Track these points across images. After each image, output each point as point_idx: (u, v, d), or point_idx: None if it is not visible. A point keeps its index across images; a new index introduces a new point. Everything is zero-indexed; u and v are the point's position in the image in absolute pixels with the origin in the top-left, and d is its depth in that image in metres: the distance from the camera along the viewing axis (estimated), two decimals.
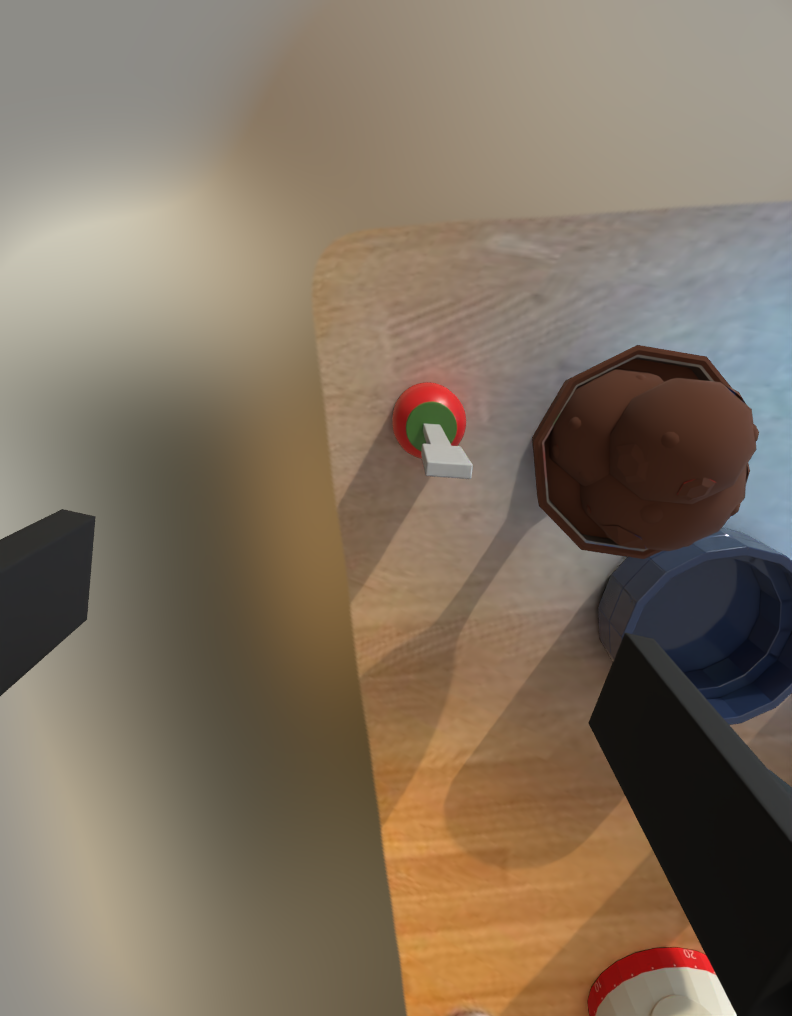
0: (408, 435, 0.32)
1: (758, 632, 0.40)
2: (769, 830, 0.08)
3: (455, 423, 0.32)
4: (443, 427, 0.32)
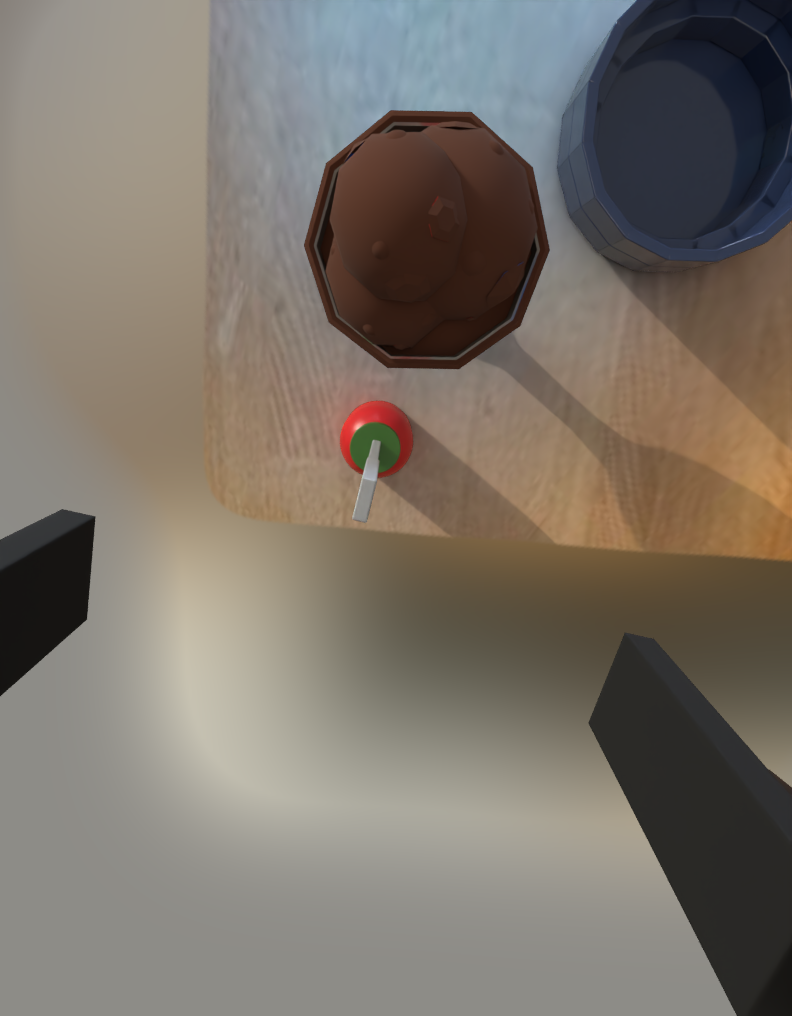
0: (378, 472, 0.32)
1: (733, 44, 0.29)
2: (769, 830, 0.08)
3: (374, 424, 0.31)
4: (376, 436, 0.32)
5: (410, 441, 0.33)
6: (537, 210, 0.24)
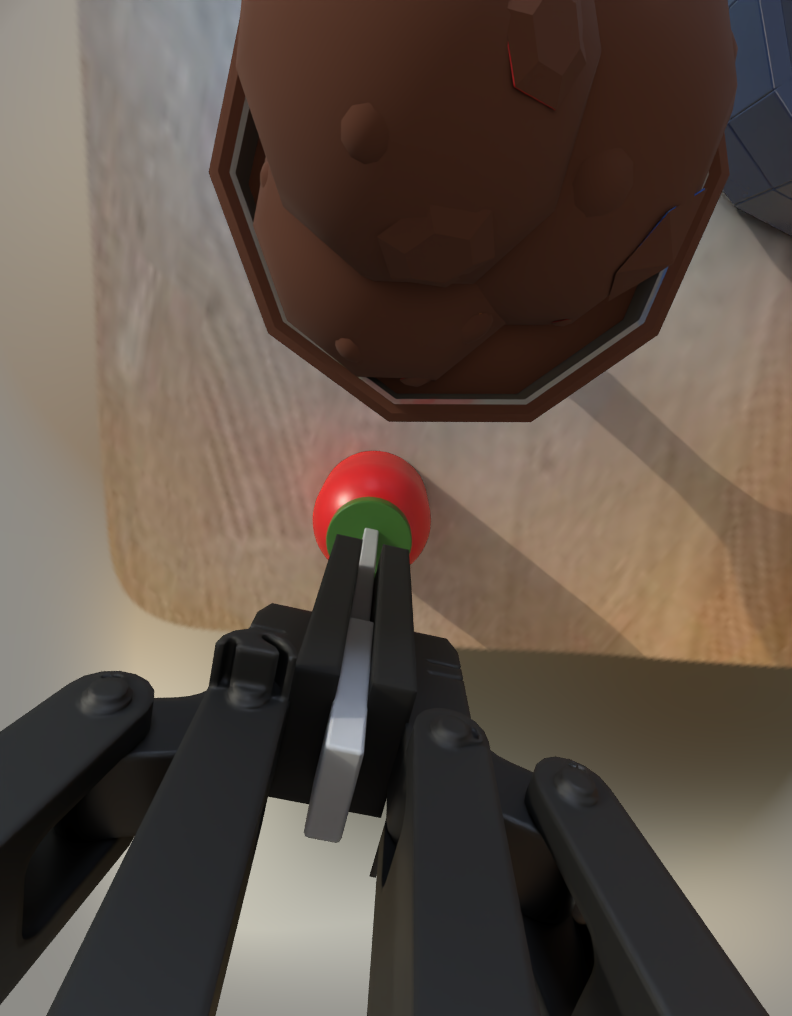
0: None
1: None
2: (372, 657, 0.10)
3: (366, 503, 0.18)
4: (370, 523, 0.19)
5: (427, 522, 0.20)
6: None
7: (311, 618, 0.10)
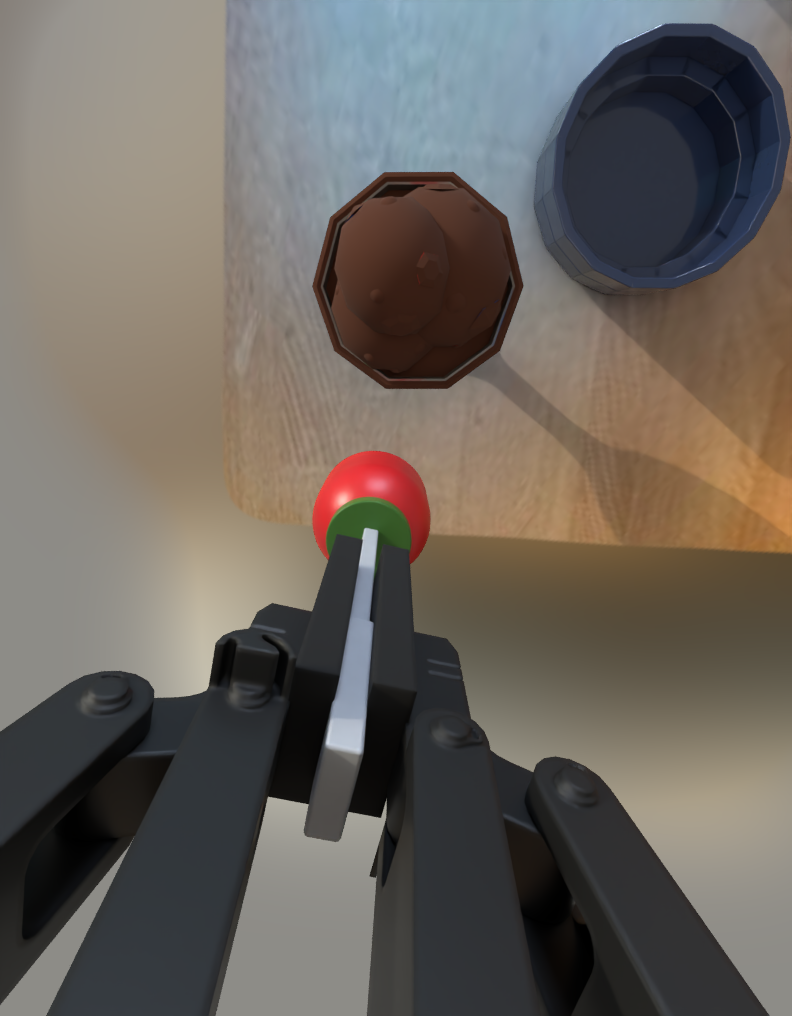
0: None
1: (686, 96, 0.33)
2: (372, 658, 0.10)
3: (366, 503, 0.18)
4: (370, 523, 0.19)
5: (426, 522, 0.20)
6: (511, 253, 0.28)
7: (311, 618, 0.10)
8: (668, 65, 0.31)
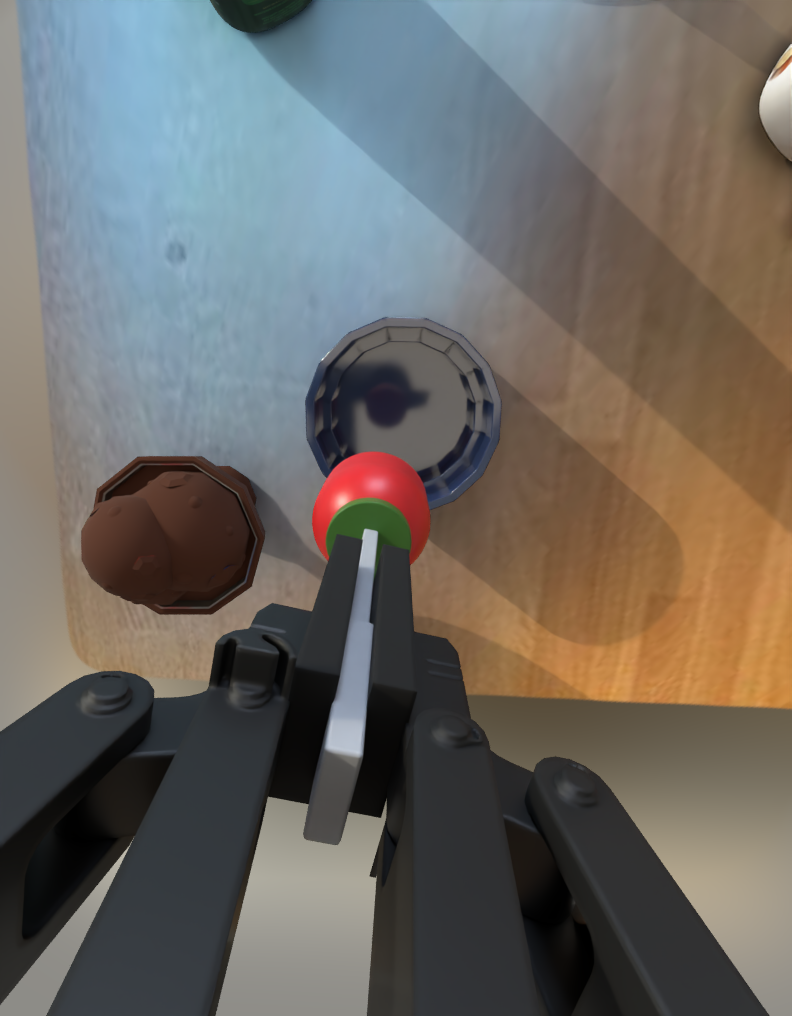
0: None
1: (432, 348, 0.39)
2: (372, 658, 0.10)
3: (366, 504, 0.18)
4: (370, 524, 0.19)
5: (426, 523, 0.20)
6: (250, 516, 0.34)
7: (311, 618, 0.10)
8: (405, 334, 0.37)
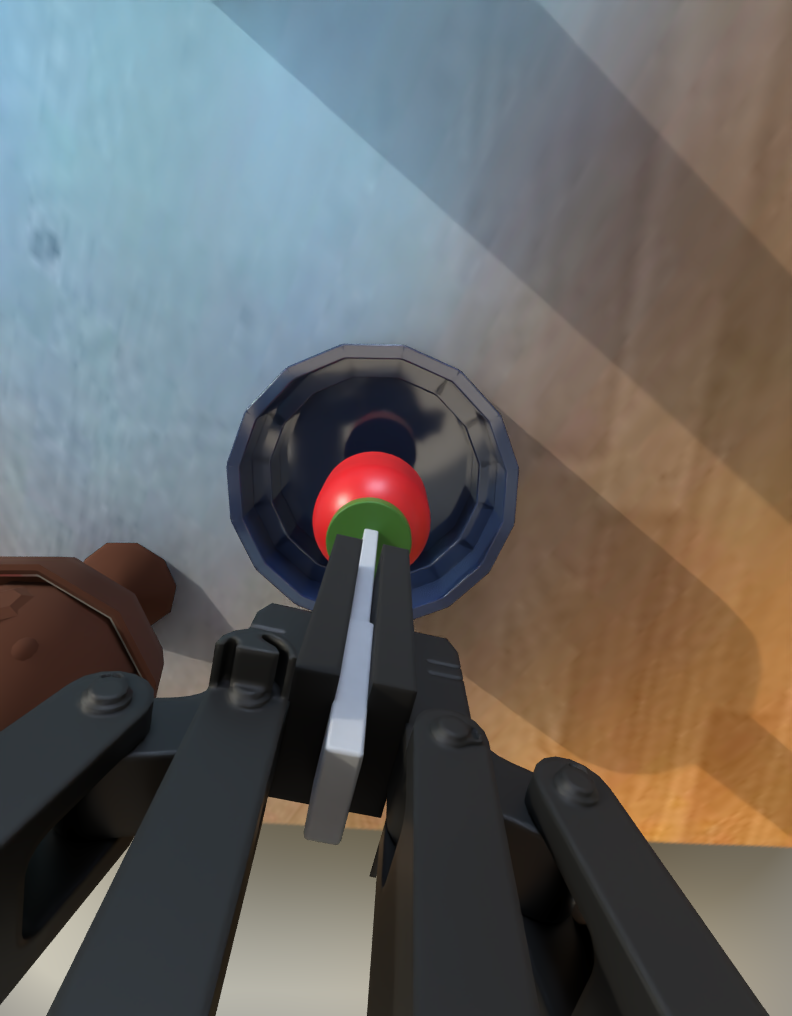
0: None
1: None
2: (372, 658, 0.10)
3: (366, 504, 0.18)
4: (370, 524, 0.19)
5: (427, 523, 0.20)
6: (132, 651, 0.22)
7: (311, 618, 0.10)
8: (376, 366, 0.25)
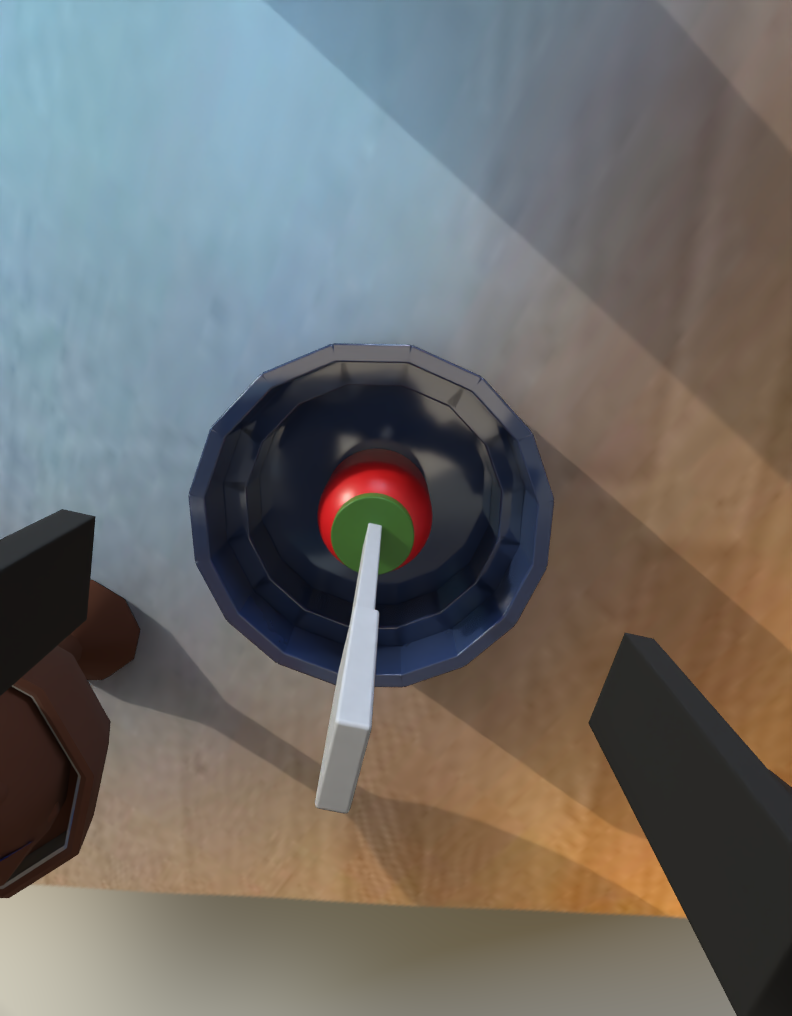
0: (378, 573, 0.20)
1: None
2: (769, 830, 0.08)
3: (370, 499, 0.19)
4: (374, 518, 0.19)
5: (429, 518, 0.21)
6: (61, 738, 0.17)
7: None
8: (376, 371, 0.20)
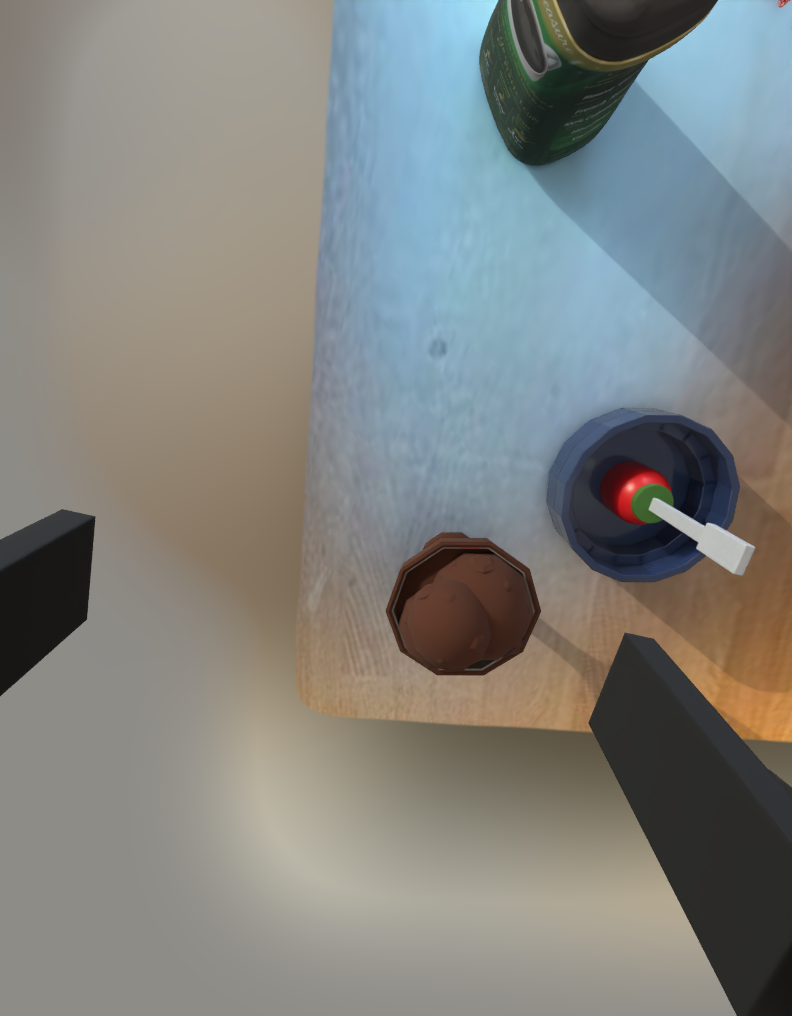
0: (654, 522, 0.41)
1: (663, 434, 0.43)
2: (769, 830, 0.08)
3: (655, 486, 0.40)
4: (655, 495, 0.41)
5: None
6: (532, 591, 0.38)
7: None
8: (649, 424, 0.42)
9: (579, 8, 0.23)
